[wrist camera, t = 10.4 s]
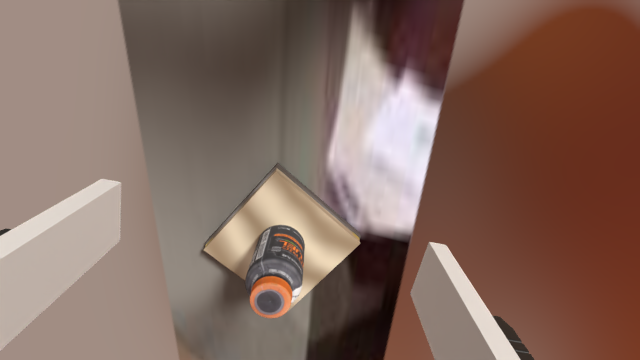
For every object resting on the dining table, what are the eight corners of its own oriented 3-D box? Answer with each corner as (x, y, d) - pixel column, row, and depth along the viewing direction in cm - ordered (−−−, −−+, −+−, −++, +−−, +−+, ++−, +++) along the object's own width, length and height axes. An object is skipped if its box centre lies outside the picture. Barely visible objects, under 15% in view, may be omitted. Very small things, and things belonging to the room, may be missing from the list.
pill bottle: (314, 242, 44) (314, 300, 33) (284, 273, 45) (274, 338, 34) (278, 213, 43) (265, 264, 32) (248, 246, 44) (226, 305, 33)
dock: (278, 162, 44) (275, 169, 41) (359, 232, 47) (362, 243, 44) (208, 238, 47) (201, 250, 44) (288, 299, 50) (287, 313, 47)
